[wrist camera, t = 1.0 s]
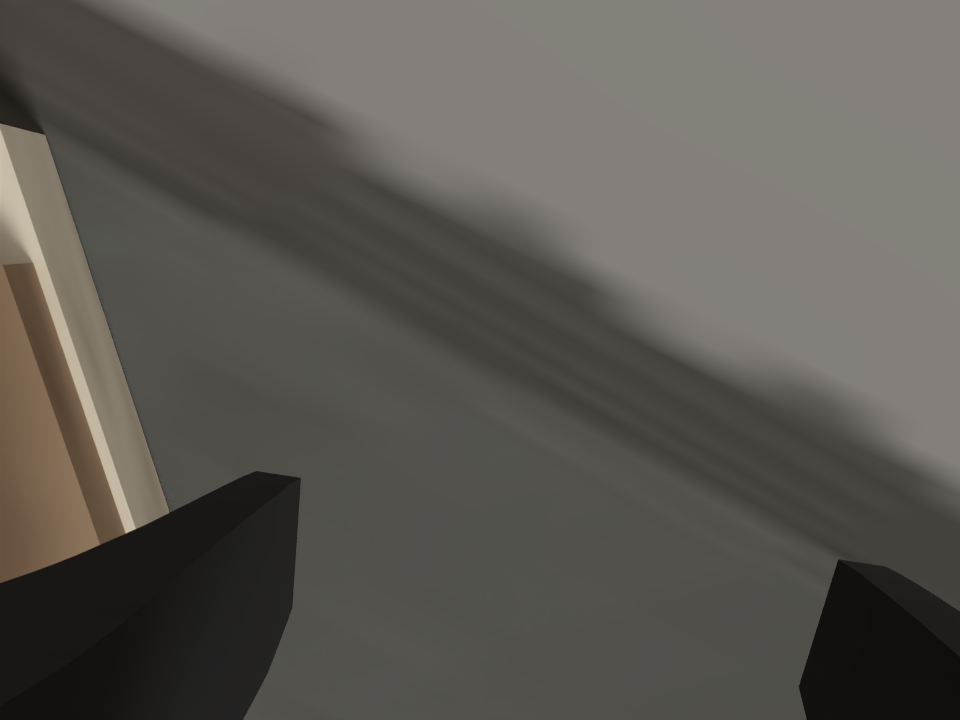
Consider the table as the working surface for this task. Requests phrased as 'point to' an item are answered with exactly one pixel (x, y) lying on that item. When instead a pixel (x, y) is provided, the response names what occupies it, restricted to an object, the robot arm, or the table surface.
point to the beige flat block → (76, 318)
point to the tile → (44, 441)
